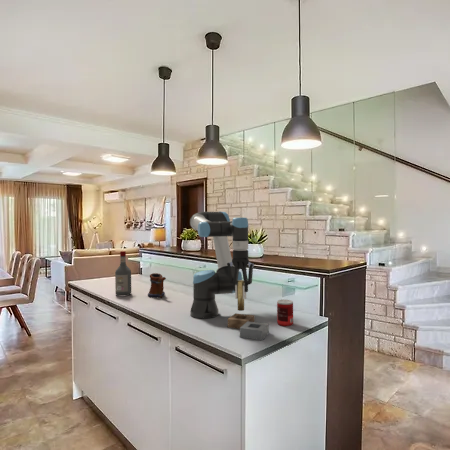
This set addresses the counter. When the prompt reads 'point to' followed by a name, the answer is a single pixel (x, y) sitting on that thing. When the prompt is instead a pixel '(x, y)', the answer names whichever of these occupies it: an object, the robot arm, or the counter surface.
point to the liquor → (123, 277)
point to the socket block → (254, 330)
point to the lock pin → (240, 295)
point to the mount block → (239, 320)
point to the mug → (156, 286)
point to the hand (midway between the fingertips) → (240, 298)
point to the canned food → (285, 312)
